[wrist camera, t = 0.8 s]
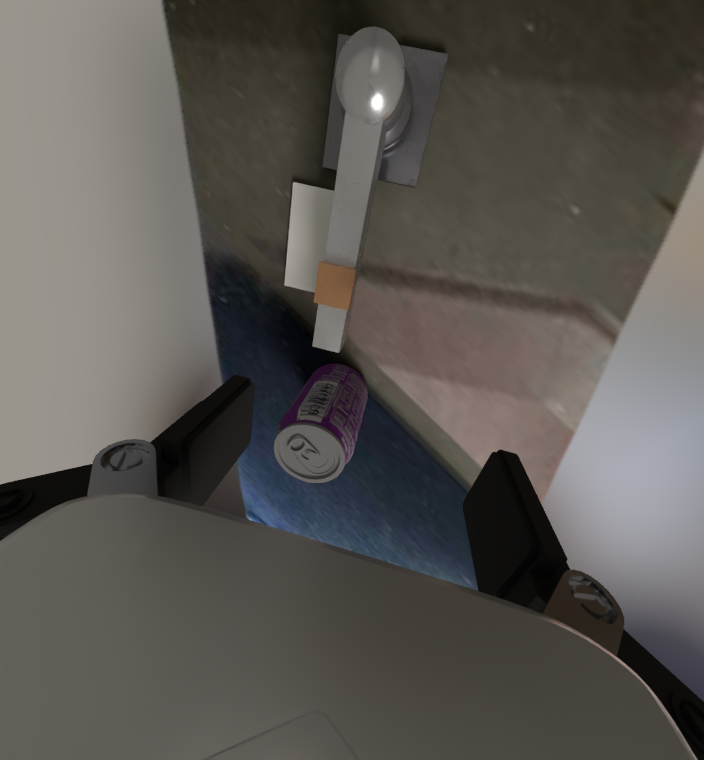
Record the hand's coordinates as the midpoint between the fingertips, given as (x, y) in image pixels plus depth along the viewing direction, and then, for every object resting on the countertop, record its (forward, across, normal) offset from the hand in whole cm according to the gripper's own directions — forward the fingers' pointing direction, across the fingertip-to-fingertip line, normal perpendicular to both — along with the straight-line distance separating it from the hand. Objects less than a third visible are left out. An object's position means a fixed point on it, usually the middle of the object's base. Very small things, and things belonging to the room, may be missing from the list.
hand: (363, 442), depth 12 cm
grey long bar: (+17, +5, -7) cm, 19 cm away
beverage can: (+22, +4, +10) cm, 24 cm away
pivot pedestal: (+21, +5, -14) cm, 26 cm away
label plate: (+21, +8, -4) cm, 23 cm away
